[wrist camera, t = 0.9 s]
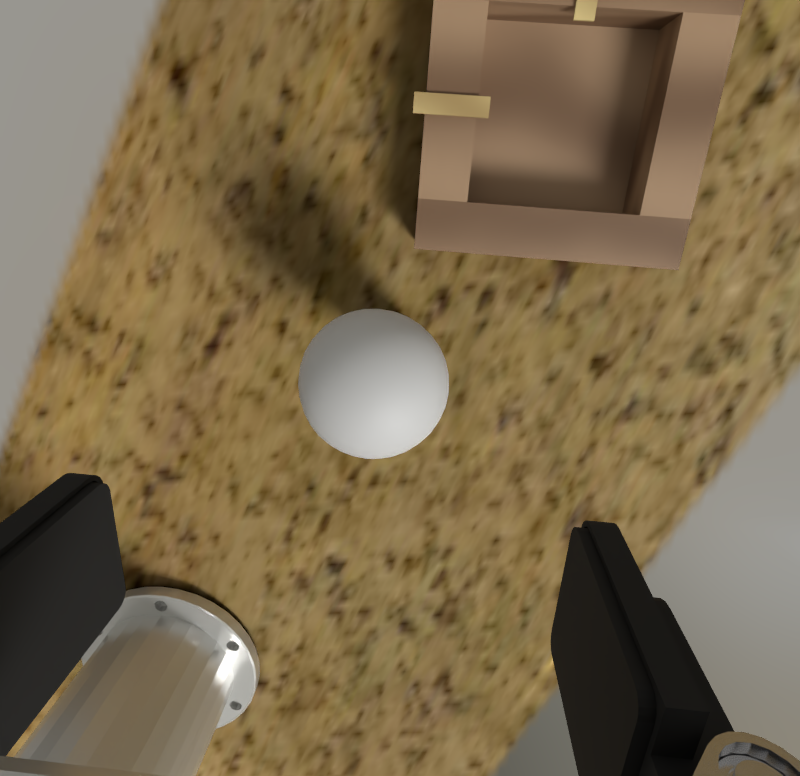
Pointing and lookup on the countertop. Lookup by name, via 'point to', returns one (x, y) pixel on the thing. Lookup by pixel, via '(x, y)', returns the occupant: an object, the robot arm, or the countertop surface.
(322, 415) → the lightbulb
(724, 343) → the countertop surface
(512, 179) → the socket block
